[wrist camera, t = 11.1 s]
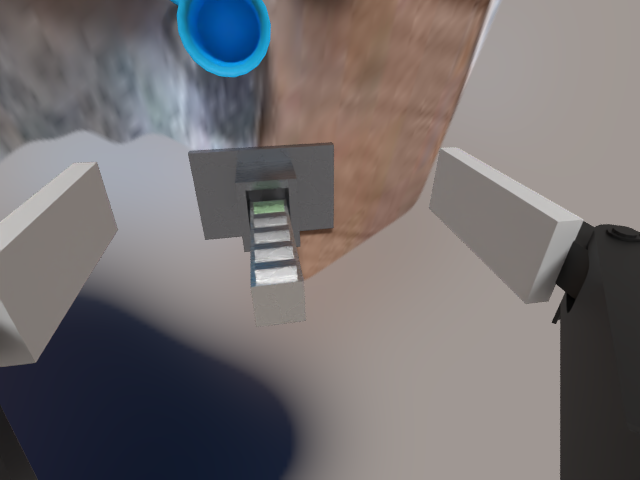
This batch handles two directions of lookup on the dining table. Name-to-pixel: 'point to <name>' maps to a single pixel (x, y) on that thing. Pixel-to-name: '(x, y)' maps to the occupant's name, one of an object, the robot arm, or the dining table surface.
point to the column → (275, 265)
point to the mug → (224, 34)
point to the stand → (263, 186)
